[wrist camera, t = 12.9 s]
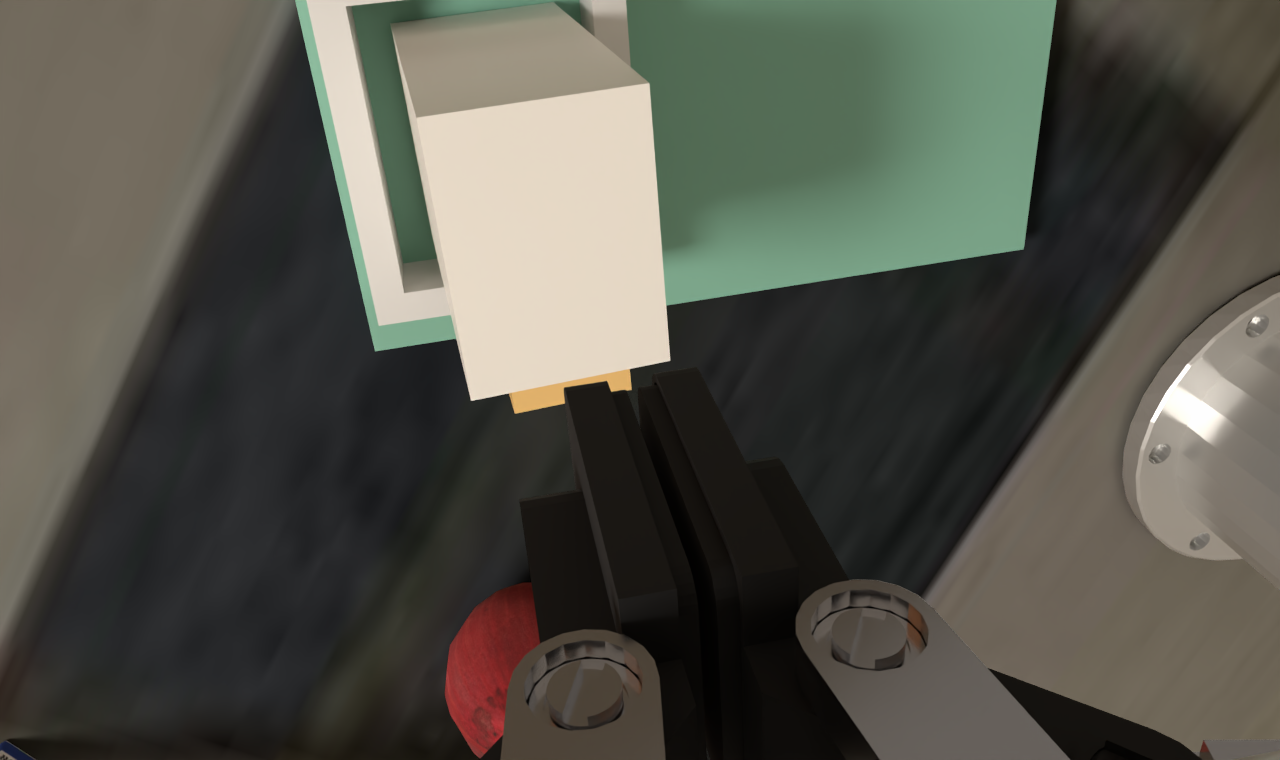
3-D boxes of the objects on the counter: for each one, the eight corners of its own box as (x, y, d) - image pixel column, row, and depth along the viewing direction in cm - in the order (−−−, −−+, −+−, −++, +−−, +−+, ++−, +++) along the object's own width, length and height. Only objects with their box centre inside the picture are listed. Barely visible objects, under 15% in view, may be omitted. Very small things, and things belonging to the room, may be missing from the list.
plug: (553, 2, 25) (649, 82, 17) (580, 232, 28) (672, 386, 20) (390, 23, 24) (416, 117, 17) (436, 257, 27) (476, 427, 20)
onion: (478, 683, 37) (498, 880, 30) (413, 572, 34) (419, 763, 27) (626, 623, 37) (680, 806, 30) (574, 508, 34) (621, 682, 27)
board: (1059, -191, 26) (1130, -191, 24) (1007, 237, 32) (1059, 273, 30) (272, -123, 23) (258, -114, 21) (375, 335, 29) (374, 385, 27)
